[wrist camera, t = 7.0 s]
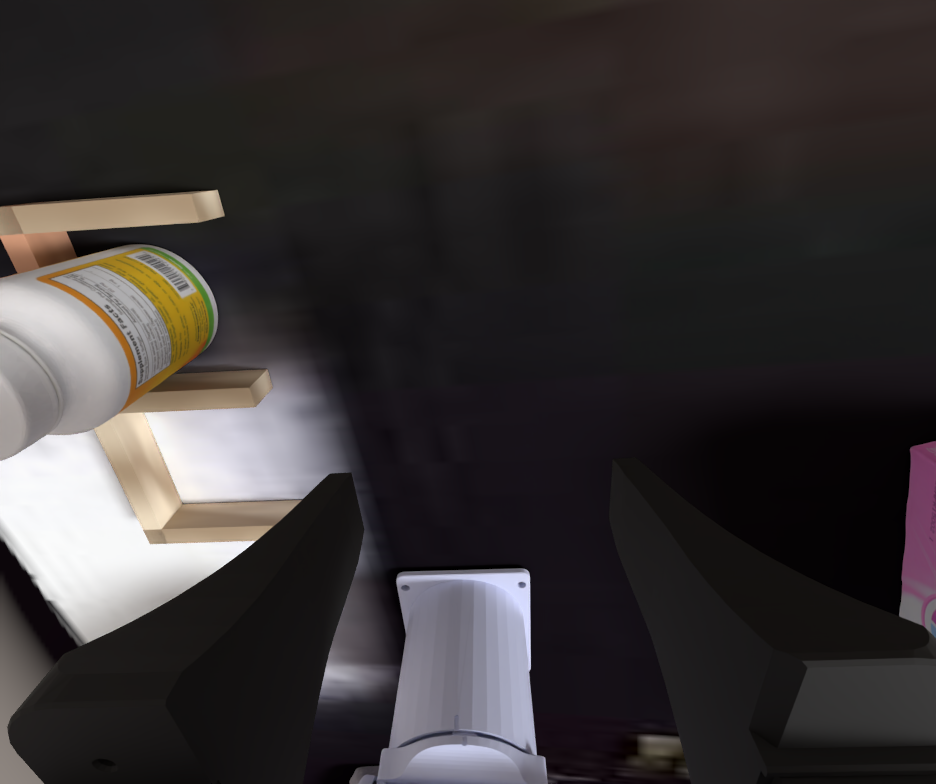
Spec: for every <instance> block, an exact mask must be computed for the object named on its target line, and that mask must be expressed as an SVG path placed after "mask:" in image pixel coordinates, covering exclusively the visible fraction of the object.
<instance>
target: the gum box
mask: <svg viewBox="0 0 936 784" xmlns="http://www.w3.org/2000/svg"><path fill="white" fill-rule="evenodd" d="M910 454H911V467H910V481H909V496H908V501H907V510H906V538H905V551H904V557H903V566H902V577H901V579H902V597H901V604H900V612H899V617H902V618H905V619H907V620H910V621H912V622H915V623H918V624H920V625H923V626H924V627H925V628H926V629H927V630H928V631H929V632H930V633H931V634H932V635H933V636H934V637H935V638H936V441H933V442H930V443H925V444H921V445H916V446H912V447H911V448H910Z"/></svg>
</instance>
